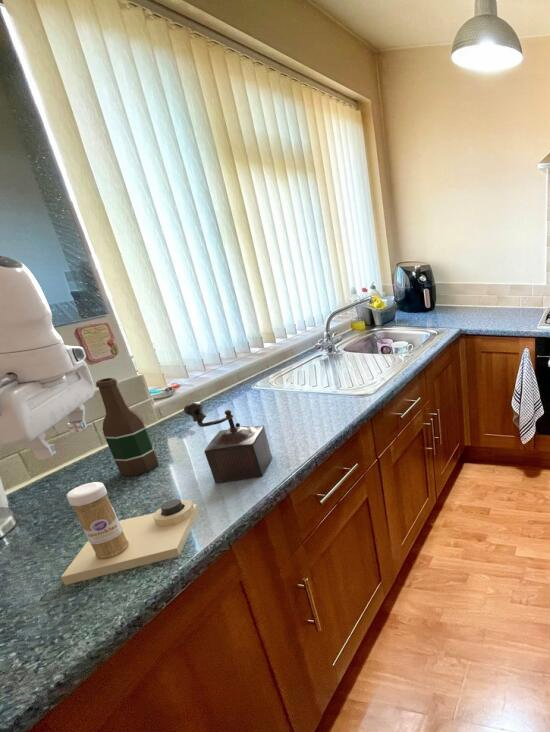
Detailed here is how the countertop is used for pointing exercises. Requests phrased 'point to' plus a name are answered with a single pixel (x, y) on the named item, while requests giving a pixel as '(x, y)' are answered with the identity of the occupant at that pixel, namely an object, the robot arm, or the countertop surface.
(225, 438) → the manual coffee grinder
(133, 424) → the beer bottle
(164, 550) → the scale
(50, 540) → the countertop surface
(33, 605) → the countertop surface
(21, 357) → the robot arm
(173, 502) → the button
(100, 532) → the sprinkles bottle
